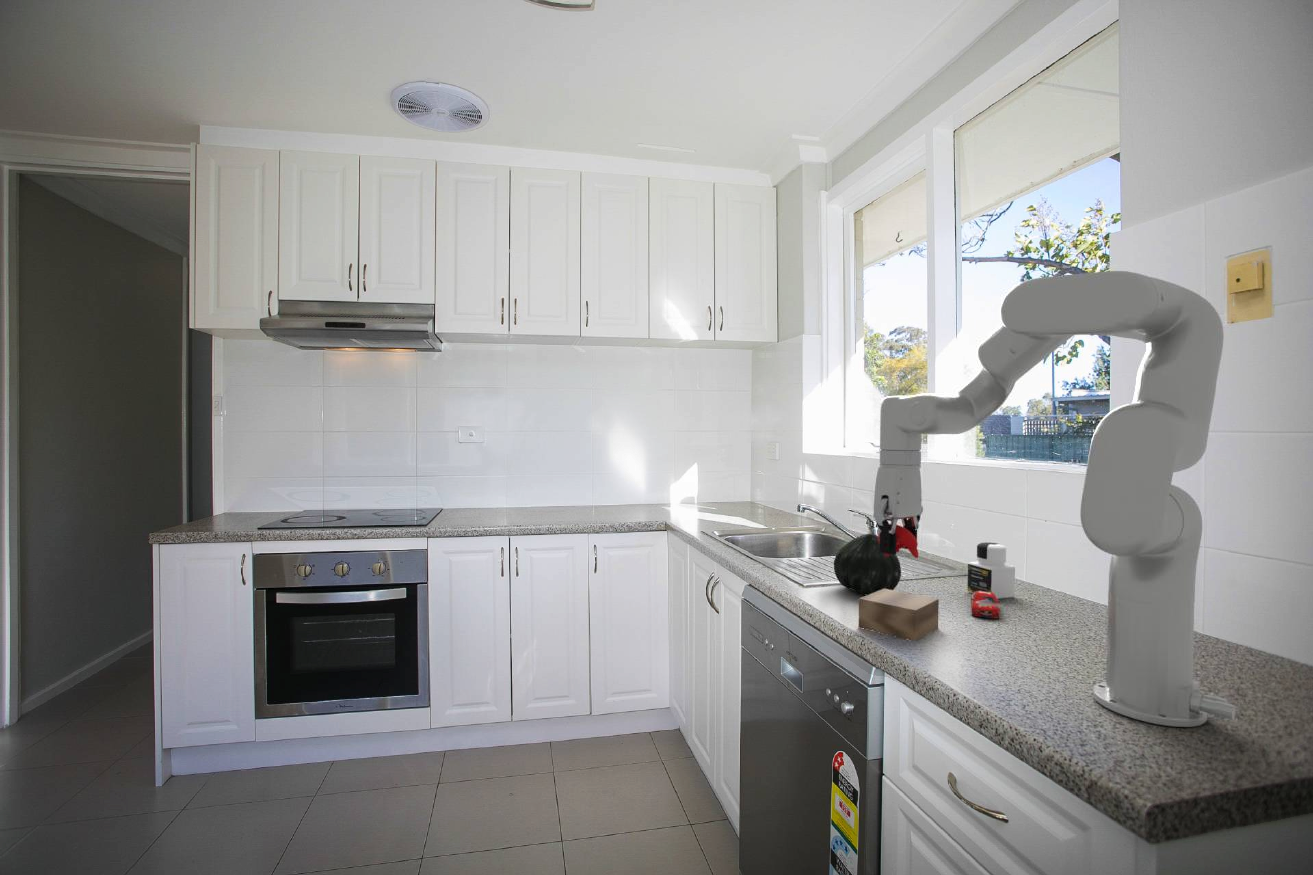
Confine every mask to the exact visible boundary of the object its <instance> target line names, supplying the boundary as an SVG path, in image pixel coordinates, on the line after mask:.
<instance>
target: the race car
mask: <svg viewBox="0 0 1313 875" xmlns="http://www.w3.org/2000/svg"><path fill="white" fill-rule="evenodd" d="M970 600H971V602H970V605H971V607H970V608H971V616H973V617H981V618H986V619H987V618H988V619H995V620H996V619H998V620H999V619H1000V617H1001V616H1000V615H1001V614H1000V612H1001V611H1000V606H999V604H1000V603H1001V601H1000V600H998V599H997V598H996V596H995V594H994V593H992V592H987V591H975V592H974V593H972V595H971V598H970Z"/></svg>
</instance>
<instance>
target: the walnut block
mask: <svg viewBox="0 0 1313 875" xmlns="http://www.w3.org/2000/svg"><path fill="white" fill-rule="evenodd" d="M939 603H940V601H939V598H934V597H931V596H924V595H919V594H915V593H909V592H905V591H904V592H903V591H898V590H895V589H894V590H889V589H882V590H879V591H877V592H874V593H872V594H869V595H865V596H861V597H860V598H859V597H858V628H859V627H860V628H864V629H863V630H865V629H868V630H867V631H869V630H873V631H875V632H874V633H877V632H880V633H879V634H881V633H883V634H882V635H885V634H888V635H887V636H889V635H891V636H890V637H893V636H896V637H895V638H898V639H902V640H906V639H908V640H907V641H910V640H911V641H910V642H914V641H915V642H917V641H919V640H921V639H922V638H924V637H926V636H927V634H928V635H929V634H930V633H933V632H934V631H936V630H938V629H939V609H940V608H939ZM860 628H859V629H860ZM873 631H872V632H873ZM923 636H924V637H923ZM918 639H919V640H918Z"/></svg>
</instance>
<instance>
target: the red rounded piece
mask: <svg viewBox="0 0 1313 875" xmlns="http://www.w3.org/2000/svg"><path fill="white" fill-rule="evenodd" d="M890 524H891V523H889V525H890ZM894 533H895V534H897V544H896V553H899V552H900V550H901V549H904V547H907V548H908V549H907V550H908V551H909V552H910V554H911V555H912V556H913V557H914V558H915V559H918V558H919V550H918V539H917V540H916V538H915V536H914V535H913V534H912V533H911V532H910V531H908V530H907V529H905V528H904V527H903V525H902V526H901V525H899V524H896V528H895V532H894ZM878 536H879V543H880V532H878ZM884 554H885V556H889V555H890V554H886V553H884Z"/></svg>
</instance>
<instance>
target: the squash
mask: <svg viewBox="0 0 1313 875" xmlns="http://www.w3.org/2000/svg"><path fill="white" fill-rule="evenodd" d="M833 571H834V574H835V577H836V579H837V581H838V582H839V584H840V585H841V586H843V587H845V589H848V590H853V591H855V592H861V594H863V595H865V596H867V595H869V594H872V593H874V592H877V591H879V590H882V589H889V590H894V591H895V589H896V588H897V586H898V584H899V582H900V580H901V576H902V570H901V562H900V560H899V558H898V555H897V553H896V554H895V555H892V554H890V555H889V556H885V554H884V553H881V552H880V543H879V535H877V534H875V533H874V534H873V533H866V534H863V535H859V536H857V537H855V538H853V539H851V540H850V541H848V542H847V543H846V544H844V545H843V546H841V547H840V549H839V550H838V551H837V553H836V555H835V557H834V559H833Z"/></svg>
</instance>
